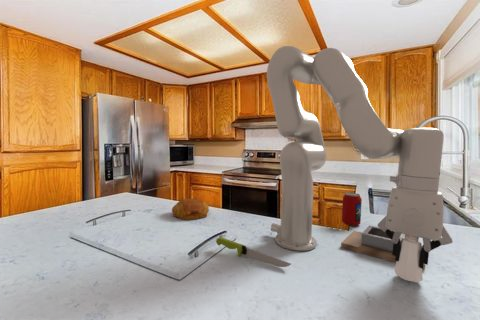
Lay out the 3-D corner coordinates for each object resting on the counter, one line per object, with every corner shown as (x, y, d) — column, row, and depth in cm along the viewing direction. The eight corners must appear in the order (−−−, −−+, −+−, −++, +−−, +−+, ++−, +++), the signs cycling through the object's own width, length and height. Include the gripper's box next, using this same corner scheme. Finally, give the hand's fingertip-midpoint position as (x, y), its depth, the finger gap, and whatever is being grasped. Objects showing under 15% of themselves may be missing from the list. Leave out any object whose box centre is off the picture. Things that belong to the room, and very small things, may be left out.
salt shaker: (428, 283, 53) (433, 234, 52) (403, 281, 53) (408, 233, 52) (411, 270, 58) (416, 225, 57) (389, 268, 58) (393, 224, 57)
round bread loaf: (173, 216, 107) (170, 199, 107) (207, 210, 112) (205, 193, 111) (173, 226, 93) (170, 206, 93) (213, 218, 98) (210, 199, 97)
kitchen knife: (291, 273, 59) (292, 262, 59) (289, 276, 58) (290, 264, 58) (217, 245, 70) (218, 236, 70) (215, 247, 69) (216, 237, 69)
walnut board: (341, 247, 73) (341, 242, 72) (353, 234, 83) (353, 230, 83) (424, 270, 60) (424, 264, 60) (426, 251, 71) (426, 246, 71)
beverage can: (362, 227, 91) (364, 196, 90) (343, 226, 92) (345, 195, 92) (357, 222, 98) (359, 192, 97) (340, 220, 99) (341, 191, 98)
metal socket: (361, 245, 71) (361, 233, 71) (368, 235, 78) (369, 225, 78) (401, 255, 65) (402, 242, 64) (405, 244, 72) (405, 232, 72)
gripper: (371, 180, 56) (365, 256, 58) (469, 192, 46) (459, 284, 47) (377, 177, 62) (372, 246, 63) (466, 187, 51) (456, 269, 53)
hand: (409, 261), depth 55 cm, fingers closed on salt shaker, 3 cm apart
